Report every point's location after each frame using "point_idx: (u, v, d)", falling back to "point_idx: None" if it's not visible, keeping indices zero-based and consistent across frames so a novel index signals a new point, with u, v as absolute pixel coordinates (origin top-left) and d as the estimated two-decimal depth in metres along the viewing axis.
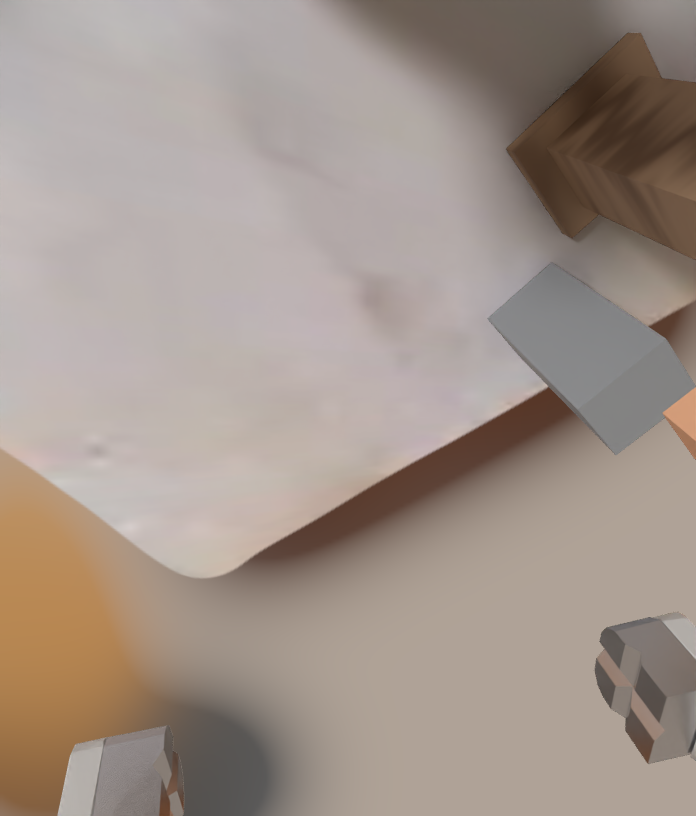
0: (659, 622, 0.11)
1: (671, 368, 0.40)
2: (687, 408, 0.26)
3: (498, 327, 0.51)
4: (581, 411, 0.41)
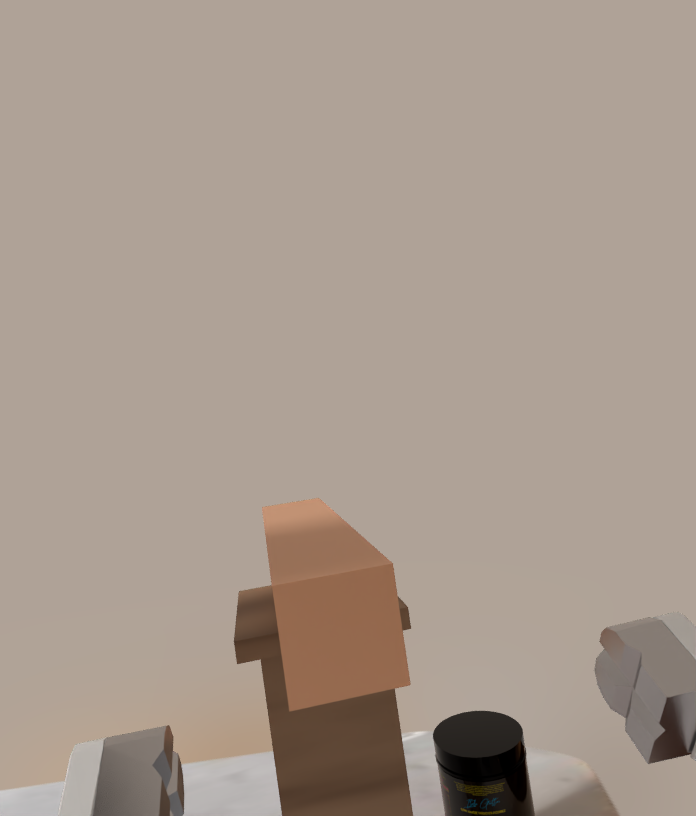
0: (659, 623, 0.11)
1: None
2: None
3: None
4: None
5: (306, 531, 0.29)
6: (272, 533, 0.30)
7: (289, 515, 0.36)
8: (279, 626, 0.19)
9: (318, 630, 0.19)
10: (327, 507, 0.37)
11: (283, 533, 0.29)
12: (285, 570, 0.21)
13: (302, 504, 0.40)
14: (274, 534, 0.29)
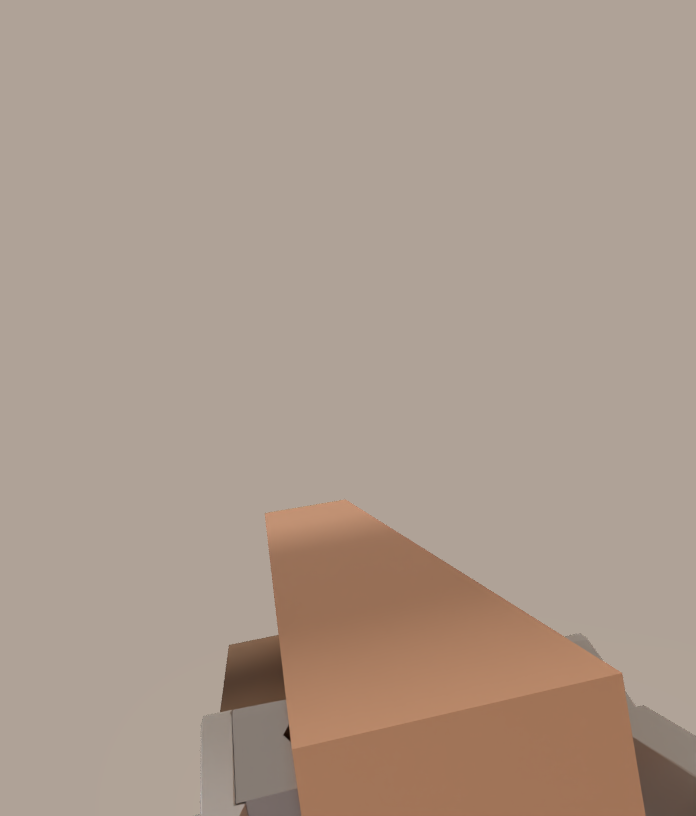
0: None
1: None
2: None
3: None
4: None
5: (343, 557, 0.16)
6: (282, 560, 0.17)
7: (307, 526, 0.23)
8: None
9: None
10: (364, 513, 0.24)
11: (302, 561, 0.17)
12: (321, 675, 0.09)
13: (323, 509, 0.28)
14: (286, 562, 0.17)
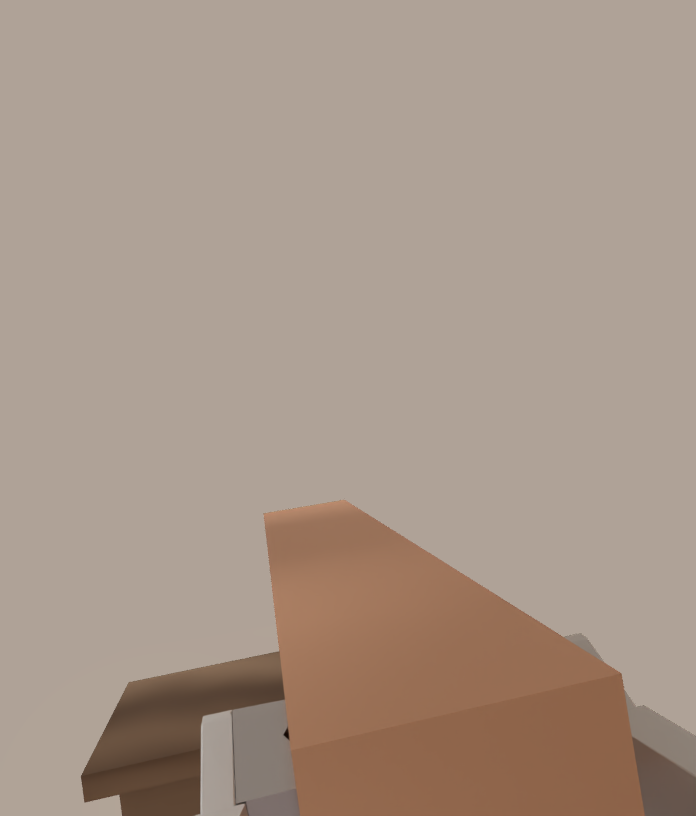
0: None
1: None
2: None
3: None
4: None
5: (342, 558, 0.16)
6: (281, 560, 0.17)
7: (306, 526, 0.23)
8: None
9: None
10: (363, 513, 0.24)
11: (301, 561, 0.17)
12: (320, 675, 0.09)
13: (322, 509, 0.27)
14: (285, 563, 0.17)
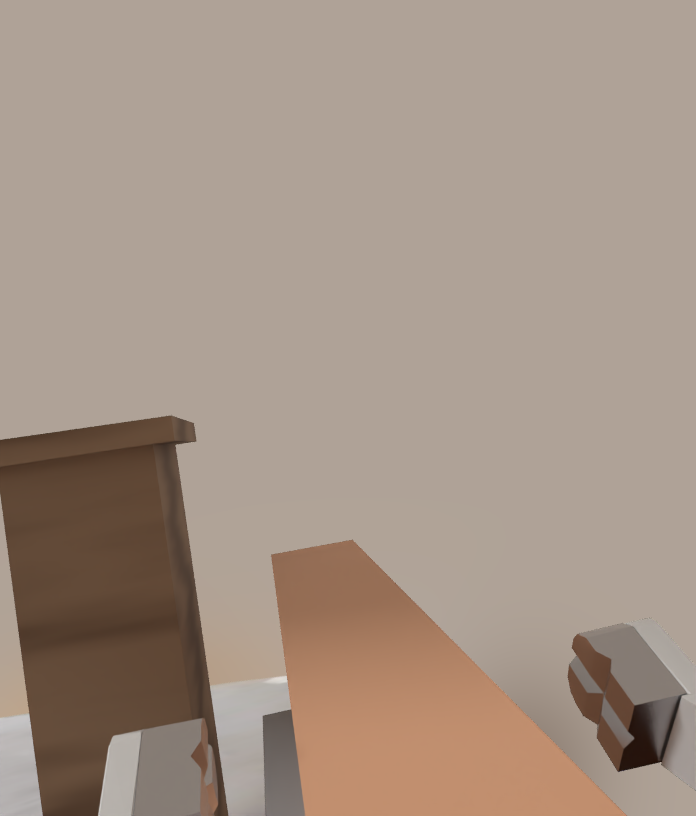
0: (631, 628, 0.11)
1: None
2: None
3: None
4: None
5: (356, 633, 0.16)
6: (293, 632, 0.17)
7: (315, 579, 0.23)
8: None
9: None
10: (373, 564, 0.24)
11: (314, 635, 0.16)
12: None
13: (331, 553, 0.27)
14: (297, 636, 0.17)
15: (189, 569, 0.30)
